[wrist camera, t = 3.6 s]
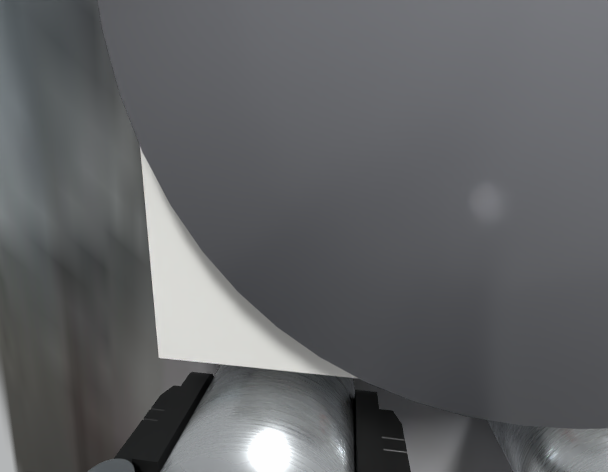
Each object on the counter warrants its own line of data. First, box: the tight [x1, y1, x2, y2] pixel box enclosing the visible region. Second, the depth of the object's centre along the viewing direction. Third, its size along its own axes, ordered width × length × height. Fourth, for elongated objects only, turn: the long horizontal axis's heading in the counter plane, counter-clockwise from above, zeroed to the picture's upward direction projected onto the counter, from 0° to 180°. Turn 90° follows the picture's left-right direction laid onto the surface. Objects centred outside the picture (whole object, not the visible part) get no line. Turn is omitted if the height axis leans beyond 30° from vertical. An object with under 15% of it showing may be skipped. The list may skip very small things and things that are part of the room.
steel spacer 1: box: [160, 364, 356, 472], centre depth 10 cm, size 5×5×5 cm
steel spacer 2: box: [487, 420, 608, 472], centre depth 11 cm, size 5×5×5 cm
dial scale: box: [97, 0, 608, 429], centre depth 7 cm, size 14×14×7 cm
